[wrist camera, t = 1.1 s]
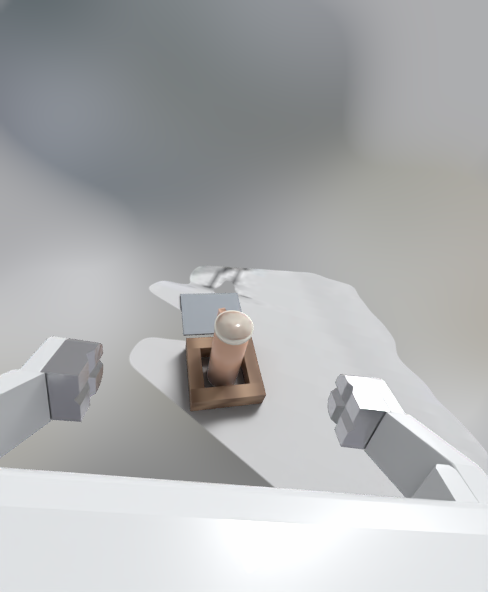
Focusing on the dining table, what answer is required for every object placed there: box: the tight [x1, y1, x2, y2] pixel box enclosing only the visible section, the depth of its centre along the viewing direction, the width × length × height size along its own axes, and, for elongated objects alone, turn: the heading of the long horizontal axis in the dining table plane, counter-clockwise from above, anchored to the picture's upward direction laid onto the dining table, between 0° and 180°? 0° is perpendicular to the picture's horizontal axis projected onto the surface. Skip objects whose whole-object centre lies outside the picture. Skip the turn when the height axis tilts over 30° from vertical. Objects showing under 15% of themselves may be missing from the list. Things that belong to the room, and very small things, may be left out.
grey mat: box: [181, 293, 242, 336], centre depth 71 cm, size 14×12×1 cm
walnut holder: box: [186, 337, 266, 411], centre depth 60 cm, size 14×14×4 cm
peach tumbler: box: [207, 308, 253, 387], centre depth 56 cm, size 9×6×16 cm
